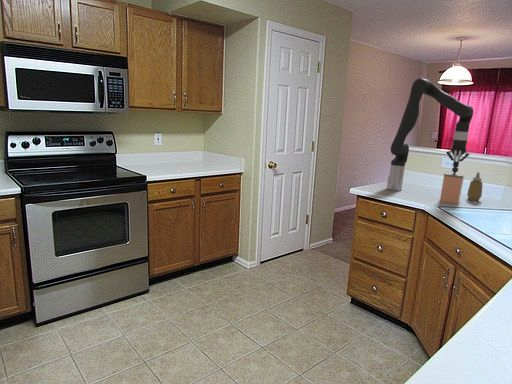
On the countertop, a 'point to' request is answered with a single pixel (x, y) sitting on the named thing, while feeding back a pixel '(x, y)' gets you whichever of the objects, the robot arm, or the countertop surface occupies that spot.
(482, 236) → the countertop surface
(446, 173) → the drawer with knob
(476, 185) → the squeeze bottle
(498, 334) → the countertop surface
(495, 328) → the countertop surface
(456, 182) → the open tunnel frame
